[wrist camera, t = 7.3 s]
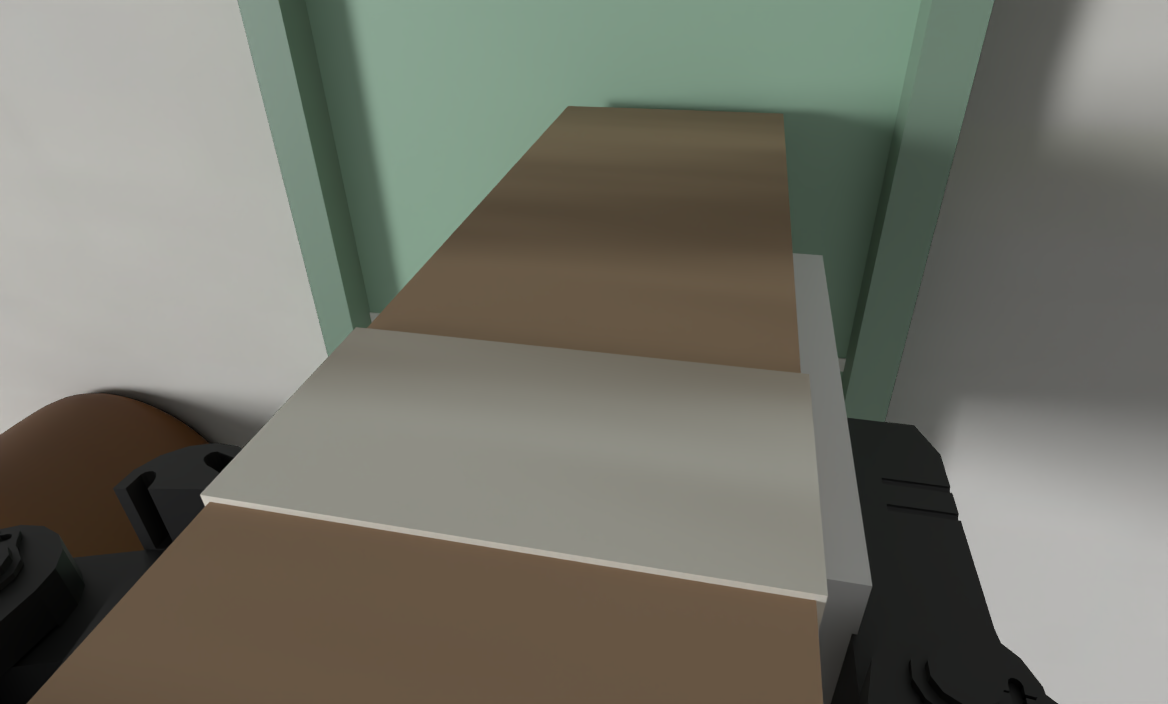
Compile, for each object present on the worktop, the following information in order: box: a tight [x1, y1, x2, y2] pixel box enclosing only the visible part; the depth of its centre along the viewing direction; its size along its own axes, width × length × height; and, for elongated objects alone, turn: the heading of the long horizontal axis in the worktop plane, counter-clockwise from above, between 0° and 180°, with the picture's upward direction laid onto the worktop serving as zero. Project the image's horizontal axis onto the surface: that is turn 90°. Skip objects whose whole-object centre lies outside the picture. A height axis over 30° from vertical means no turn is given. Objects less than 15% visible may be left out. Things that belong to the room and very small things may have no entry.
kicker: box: [27, 106, 828, 704], centre depth 8 cm, size 6×4×12 cm, turn 0°
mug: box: [0, 393, 210, 558], centre depth 19 cm, size 12×8×9 cm, turn 53°
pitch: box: [238, 0, 994, 422], centre depth 15 cm, size 28×12×5 cm, turn 1°
